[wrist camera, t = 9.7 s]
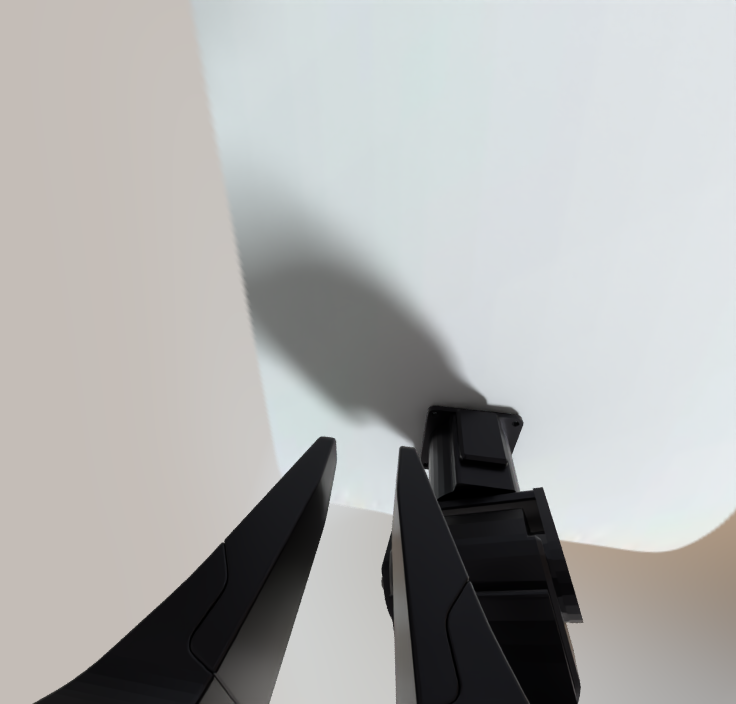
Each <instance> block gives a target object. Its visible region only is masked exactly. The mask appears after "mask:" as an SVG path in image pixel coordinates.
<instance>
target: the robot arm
mask: <svg viewBox="0 0 736 704" xmlns="http://www.w3.org/2000/svg"><path fill="white" fill-rule="evenodd" d="M433 412H436V414H434V413H433ZM514 421H517V422H514ZM522 426H523V420H522V418H521V416H519V415H515V414H506V413H496V412H487V411H478V410H469V409H460V408H450V407H441V406H432V407H430V408H429V409H428V412H427V419H426V425H425V431H424V438H423V444H422V450H421V457H419V455H418V452H417V450H416V449H415V448H413V447H406V446H401V447H400V448H399V457H398V467H397V477H396V489H395V500H394V511H393V523H392V532H391V535H390V539H389V542H388V546H387V550H386V553H385V557H384V561H383V564H382V587H383V589H384V595H385V601H386V605H387V609H388V612H389V614H390V616H391V618H392V621H393V627H394V637H395V675H396V704H578V701H579V697H580V688H581V686H580V680H579V675H578V670H577V665H576V661H575V655H574V650H573V647H572V643H571V640H570V636H569V632H568V628H567V625H566V623H567V622H568V623H583V619H582V616H581V612H580V608H579V605H578V602H577V598H576V595H575V591H574V588H573V584H572V581H571V577H570V574H569V571H568V567H567V564H566V561H565V557H564V554H563V551H562V547H561V544H560V541H559V538H558V534H557V531H556V528H555V525H554V522H553V519H552V515H551V512H550V509H549V506H548V503H547V499H546V496H545V493H544V490H543V487H541V488H533V490H530V491H521V492H520V488H519V484H518V480H517V476H516V472H515V468H514V463H513V459H512V453H513V450H514V447H515V445H516V442H517V440H518V437H519V434H520V432H521V429H522ZM336 463H337V451H336V440H335V438H332V437H320V438H318V439H317V440H316V441H315V443H314V444H313V445H312V446H311V447H310V448H309V449H308V450H307V451H306V452H305V453H304V454H303V456H302V457H301V458H300V459H299V460H298V461H297V462H296V463H295V464H294V465H293V466H292V467H291V469H290V470H289V471H288V472H287V473H286V474H285V475H284V476H283V477H282V478H281V479H280V481H279V482H278V483H277V484H276V485H275V486H274V487H273V488H272V489H271V490H270V491H269V492H268V493H267V495H266V496H265V497H264V498H263V499H262V500H261V501H260V502H259V503H258V504H257V505H256V506H255V507H254V509H253V510H252V511H251V512H250V513H249V514H248V515H247V516H246V517H245V518H244V519H243V520H242V522H241V523H240V524H239V525H238V526H237V527H236V528H235V529H234V530H233V531H232V532H231V534H230V535H229V536H228V537H227V538H226V539H225V541H224V542H225V543H221V544H220V545H219V546H218V547H217V548H216V550H215V551H214V552H213V553H212V554H211V555H210V556H209V557H208V558H207V559H206V560H205V561H204V562H203V563H202V564H201V565H200V566H199V567H198V568H197V570H196V571H195V572H194V573H193V574H192V575H191V576H190V577H189V578H188V579H187V580H186V581H185V582H183V583H182V584H181V585H180V586H179V587H178V588H177V589H176V590H175V591H174V592H173V593H172V594H171V595H170V596H169V597H167V598H166V599H165V601H163V602H162V603H161V604H160V605H159V606H158V607H157V608H156V609H154V610H153V611H152V612H151V613H150V614H149V615H148V616H147V617H146V618H145V619H143V620H142V621H141V622H140V623H139V624H138V625H137V626H136V627H135V628H134V629H132V630H131V631H130V632H129V633H128V634H127V635H126V636H125V637H124V638H122V639H121V640H120V641H119V642H118V643H117V644H116V645H115V646H114V647H113V648H111V649H110V650H109V651H108V652H107V653H106V654H105V655H104V656H103V657H102V658H101V659H99V660H98V661H97V662H96V663H94V664H93V665H92V666H91V667H89V668H88V669H87V670H86V671H84V672H83V673H82V674H80V675H79V676H77V677H76V678H75V679H73V680H72V681H70V682H69V683H67V684H66V685H64V686H63V687H61V688H59V689H58V690H56V691H54V692H53V693H51V694H49V695H47V696H46V697H44V698H42V699H40V700H39V701H37V702H35V703H33V704H269V702H270V699H271V696H272V693H273V689H274V686H275V683H276V679H277V676H278V673H279V670H280V667H281V664H282V660H283V657H284V654H285V651H286V648H287V644H288V641H289V638H290V635H291V631H292V628H293V625H294V622H295V618H296V615H297V612H298V609H299V605H300V603H301V599H302V596H303V593H304V590H305V586H306V583H307V580H308V577H309V574H310V570H311V567H312V564H313V561H314V558H315V554H316V551H317V548H318V544H319V541H320V538H321V535H322V532H323V528H324V525H325V521H326V516H327V511H328V506H329V501H330V496H331V490H332V485H333V480H334V475H335V469H336ZM424 469H429V479H428V477H427V474H426V472H425V470H424Z"/></svg>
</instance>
